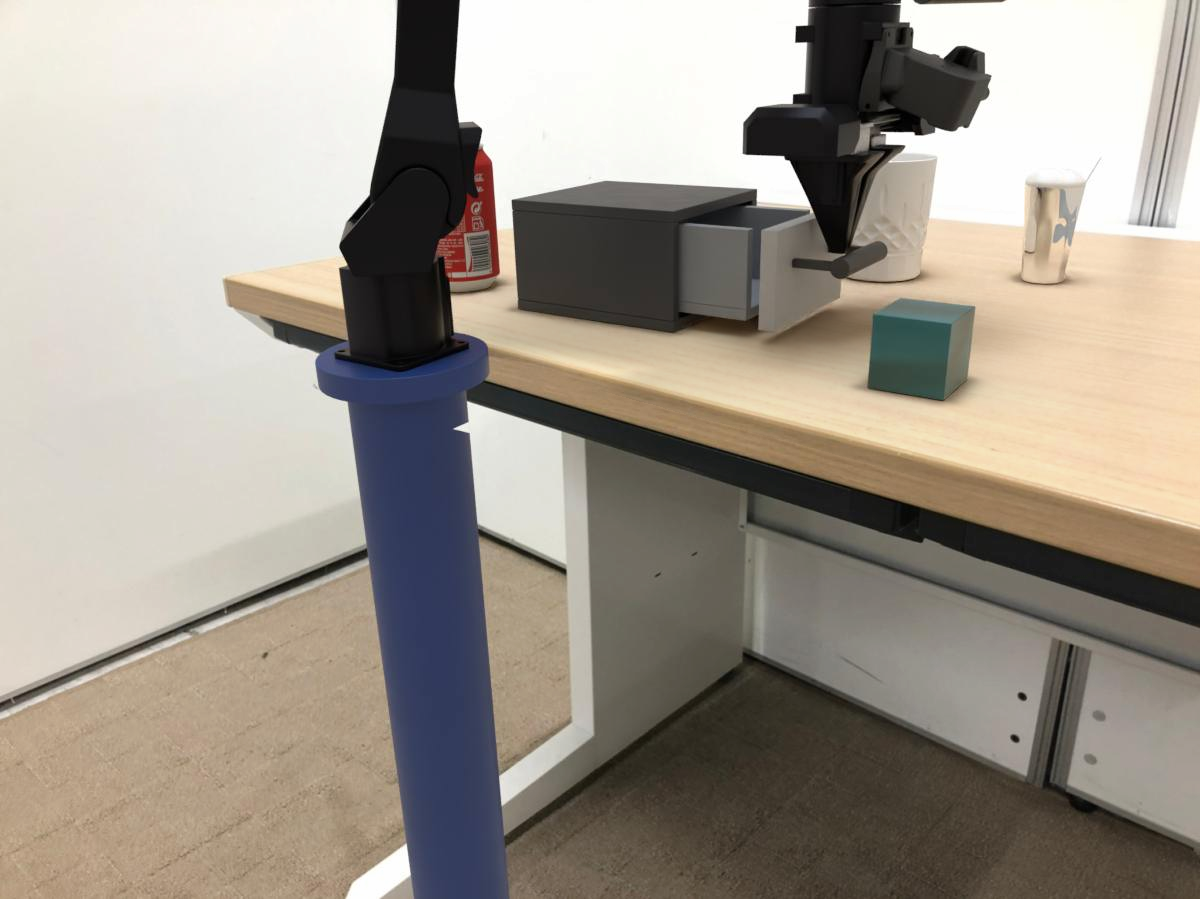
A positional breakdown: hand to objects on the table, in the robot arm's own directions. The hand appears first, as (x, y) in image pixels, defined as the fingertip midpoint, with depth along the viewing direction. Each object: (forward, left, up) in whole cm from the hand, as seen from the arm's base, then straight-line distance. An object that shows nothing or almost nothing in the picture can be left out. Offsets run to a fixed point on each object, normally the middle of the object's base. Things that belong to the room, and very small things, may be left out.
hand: (839, 252), depth 68 cm
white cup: (+19, +4, -6) cm, 20 cm away
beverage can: (-2, +34, -6) cm, 34 cm away
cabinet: (0, +17, -6) cm, 18 cm away
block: (-9, -9, -6) cm, 14 cm away
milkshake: (+23, -9, -6) cm, 25 cm away
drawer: (0, +7, -5) cm, 8 cm away
